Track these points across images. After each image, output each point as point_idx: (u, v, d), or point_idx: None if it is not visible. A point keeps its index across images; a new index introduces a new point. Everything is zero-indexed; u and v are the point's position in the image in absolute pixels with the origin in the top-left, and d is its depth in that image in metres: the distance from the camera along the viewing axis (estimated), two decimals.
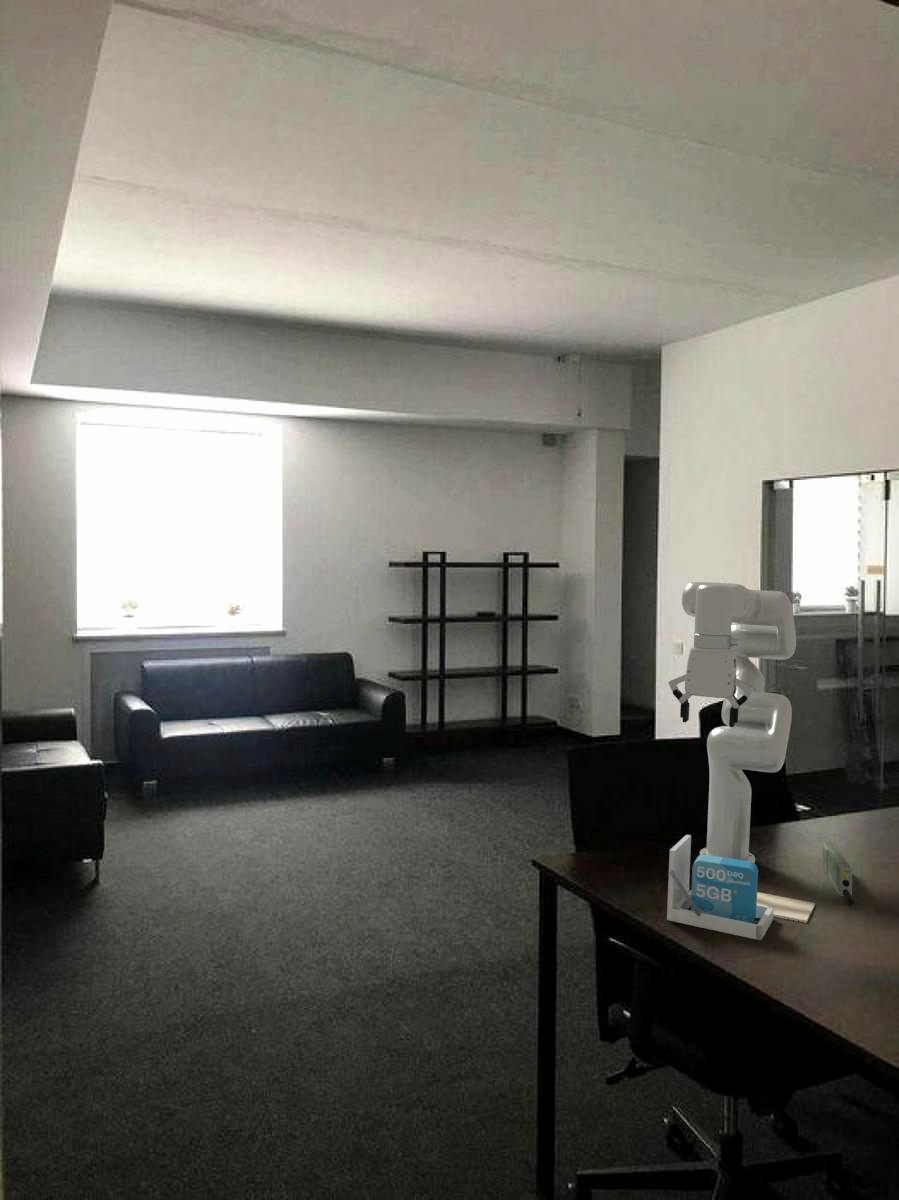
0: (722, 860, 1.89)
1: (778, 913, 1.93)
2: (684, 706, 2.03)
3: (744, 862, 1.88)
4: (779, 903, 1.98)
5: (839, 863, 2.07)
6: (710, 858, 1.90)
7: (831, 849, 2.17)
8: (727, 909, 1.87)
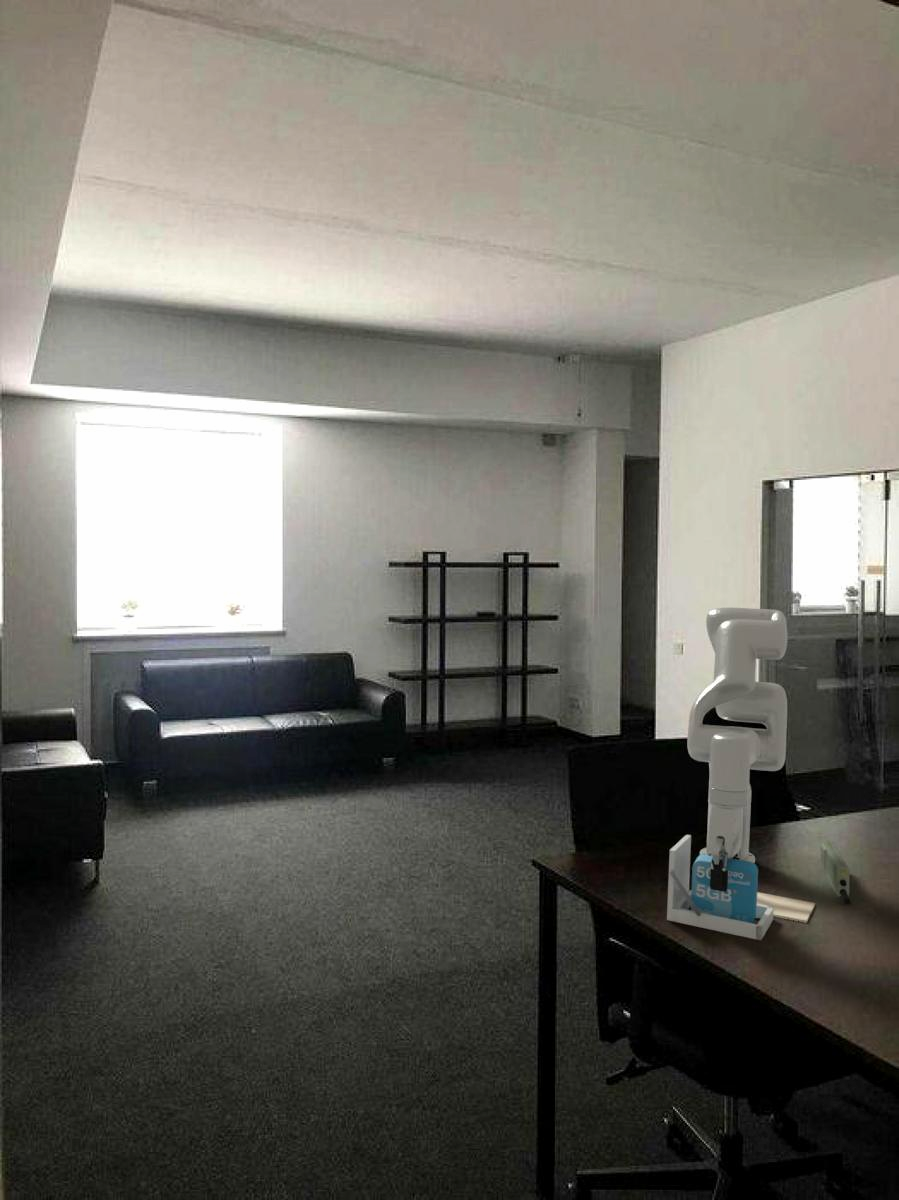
0: (722, 860, 1.89)
1: (778, 913, 1.93)
2: (727, 874, 1.84)
3: (744, 862, 1.88)
4: (779, 903, 1.98)
5: (836, 863, 2.07)
6: (710, 858, 1.90)
7: (829, 849, 2.17)
8: (727, 909, 1.87)
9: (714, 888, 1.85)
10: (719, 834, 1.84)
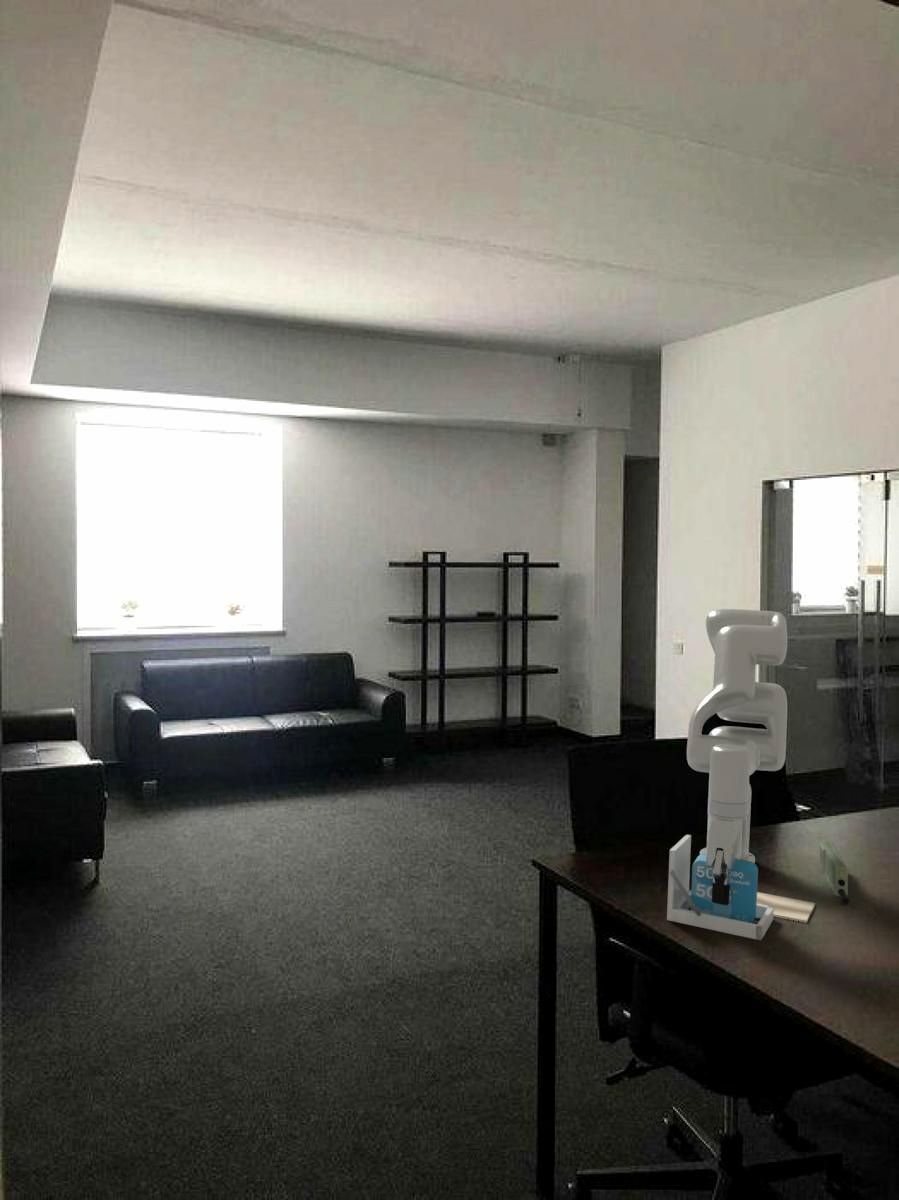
0: None
1: (778, 913, 1.93)
2: (729, 887, 1.86)
3: (744, 862, 1.88)
4: (779, 903, 1.98)
5: (835, 863, 2.07)
6: None
7: (828, 849, 2.17)
8: (727, 909, 1.87)
9: (716, 901, 1.87)
10: (718, 846, 1.84)
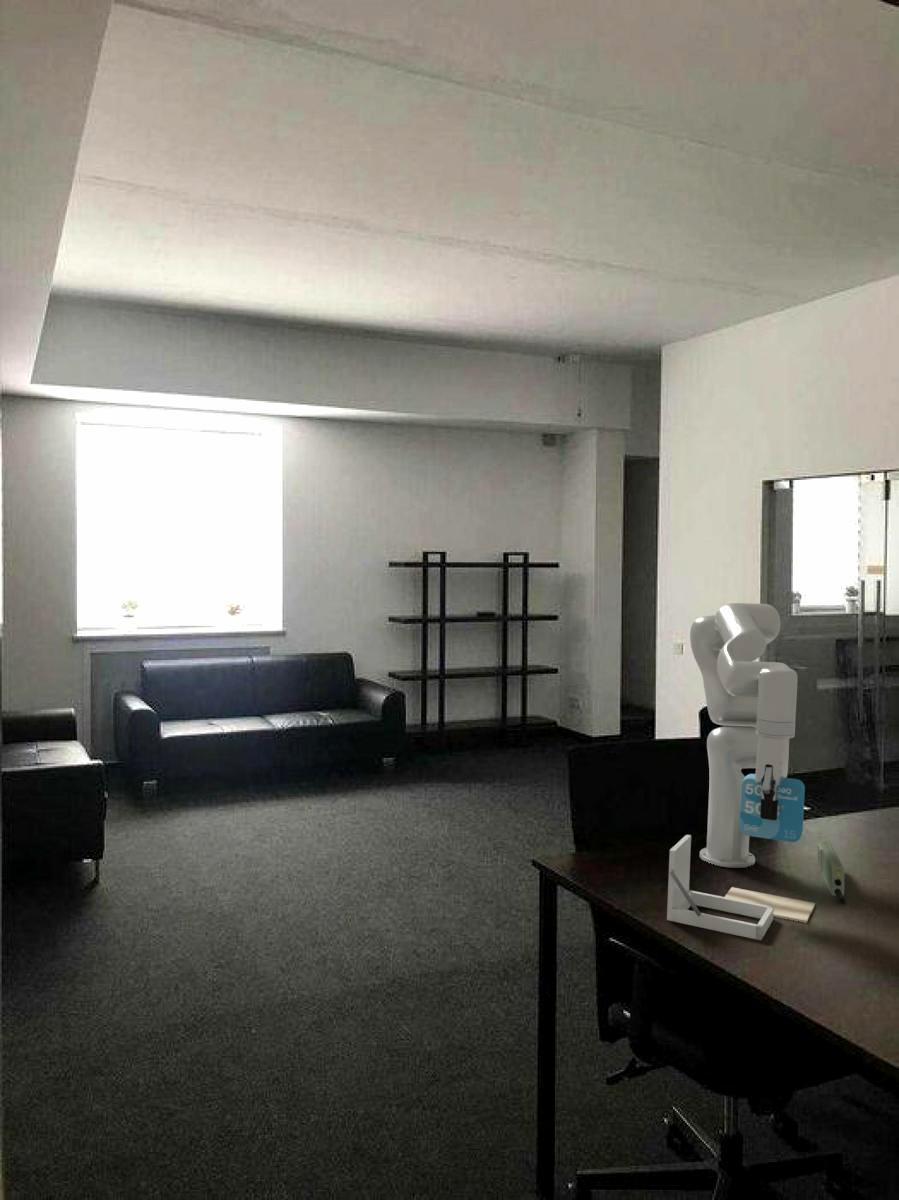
0: None
1: (778, 913, 1.93)
2: (777, 803, 1.94)
3: (791, 779, 1.96)
4: (779, 903, 1.98)
5: (831, 862, 2.07)
6: None
7: (825, 849, 2.17)
8: (775, 824, 1.95)
9: (764, 817, 1.95)
10: (767, 762, 1.92)
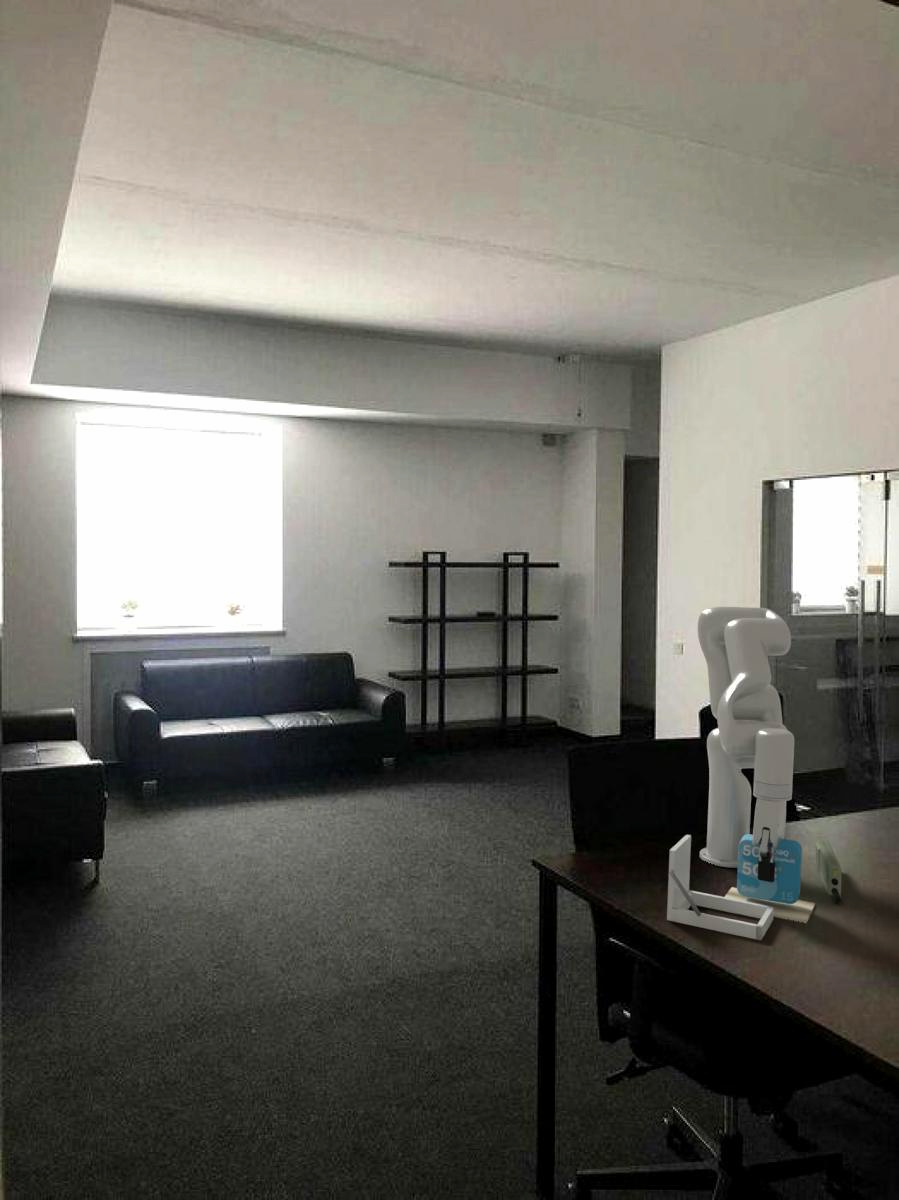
0: None
1: (778, 913, 1.93)
2: (774, 865, 1.94)
3: (788, 841, 1.97)
4: (779, 903, 1.98)
5: (829, 862, 2.08)
6: None
7: (823, 848, 2.17)
8: (773, 886, 1.95)
9: (762, 879, 1.96)
10: (765, 825, 1.93)
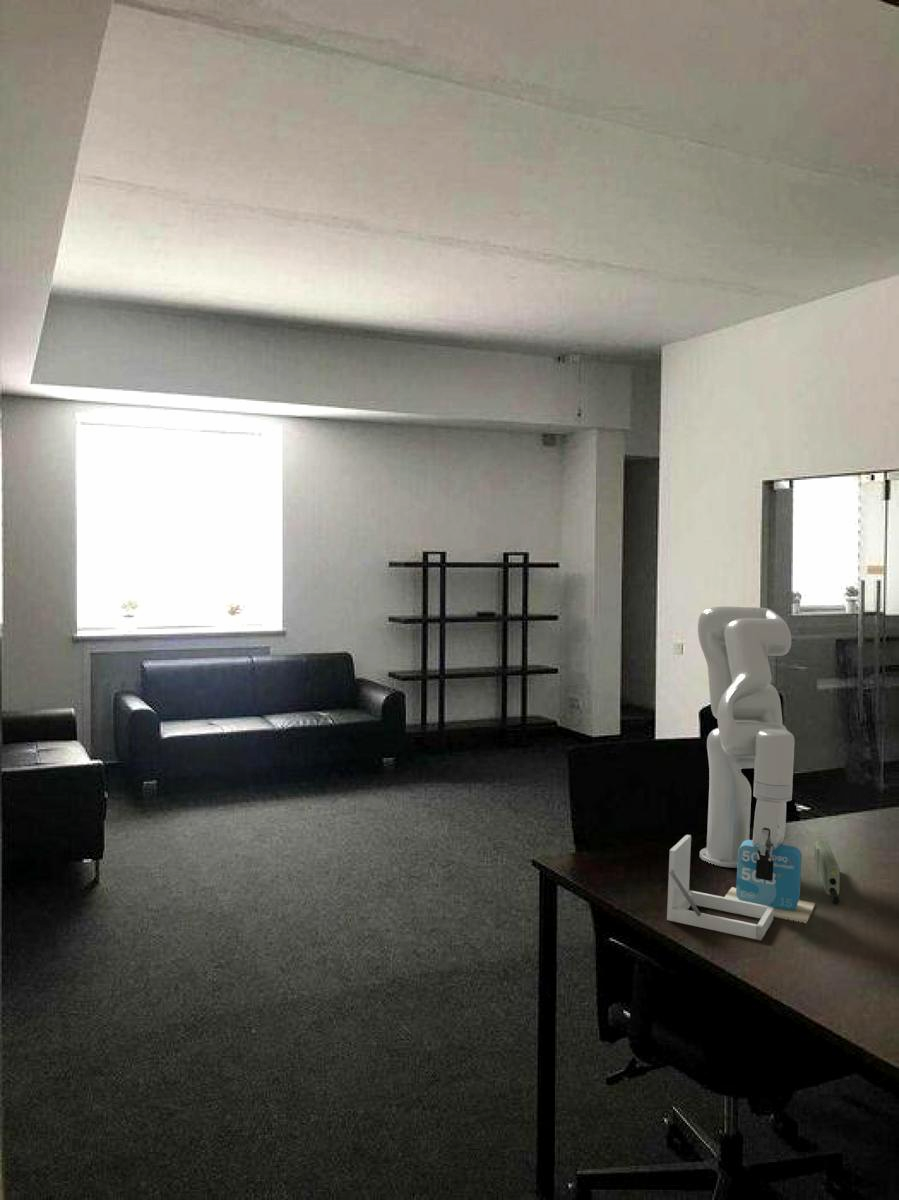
0: None
1: (778, 913, 1.93)
2: None
3: (788, 847, 1.97)
4: None
5: (827, 861, 2.08)
6: None
7: (821, 848, 2.17)
8: (772, 892, 1.96)
9: (760, 877, 1.94)
10: (765, 826, 1.93)
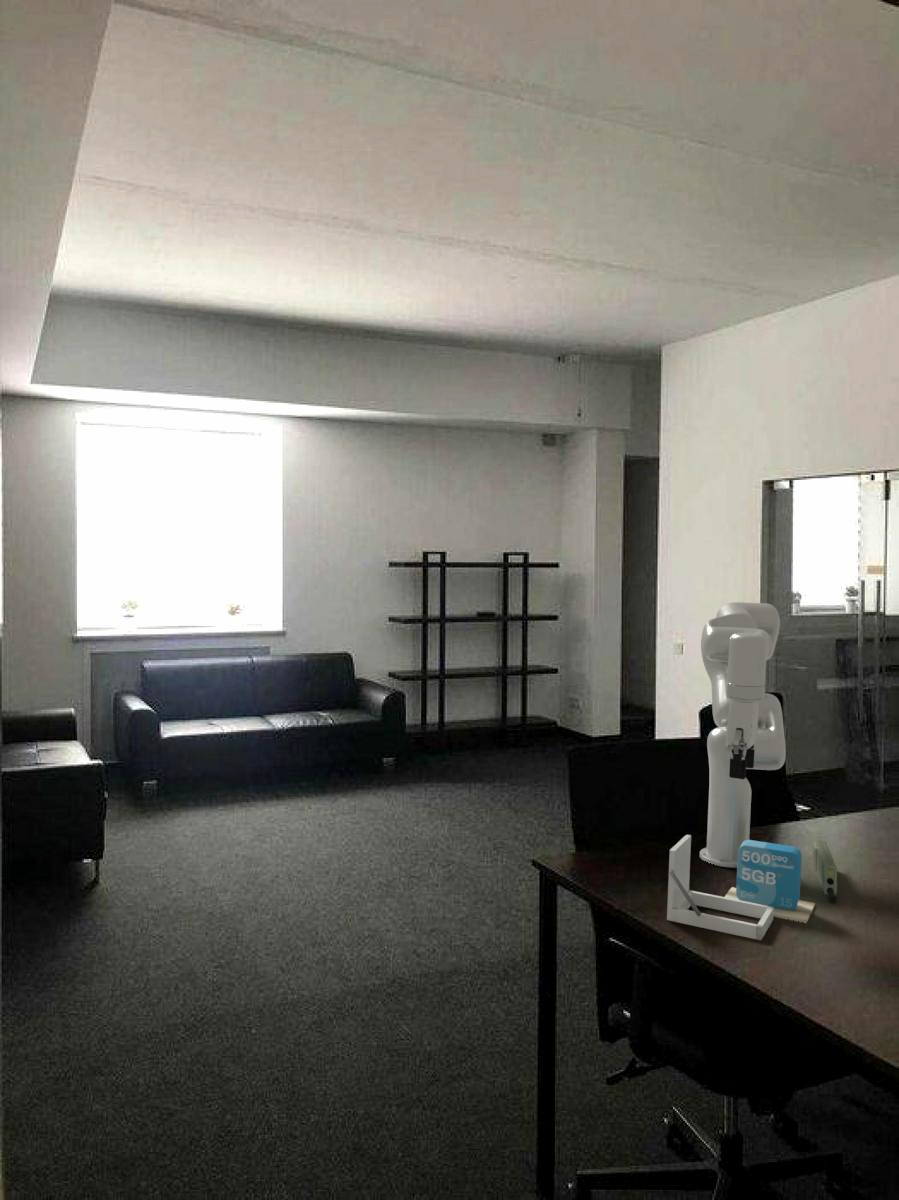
0: (767, 845, 1.98)
1: (778, 913, 1.93)
2: (746, 762, 1.97)
3: (788, 847, 1.97)
4: None
5: (824, 861, 2.08)
6: (755, 843, 1.99)
7: (820, 848, 2.17)
8: (772, 892, 1.96)
9: (733, 776, 1.98)
10: (738, 726, 1.97)
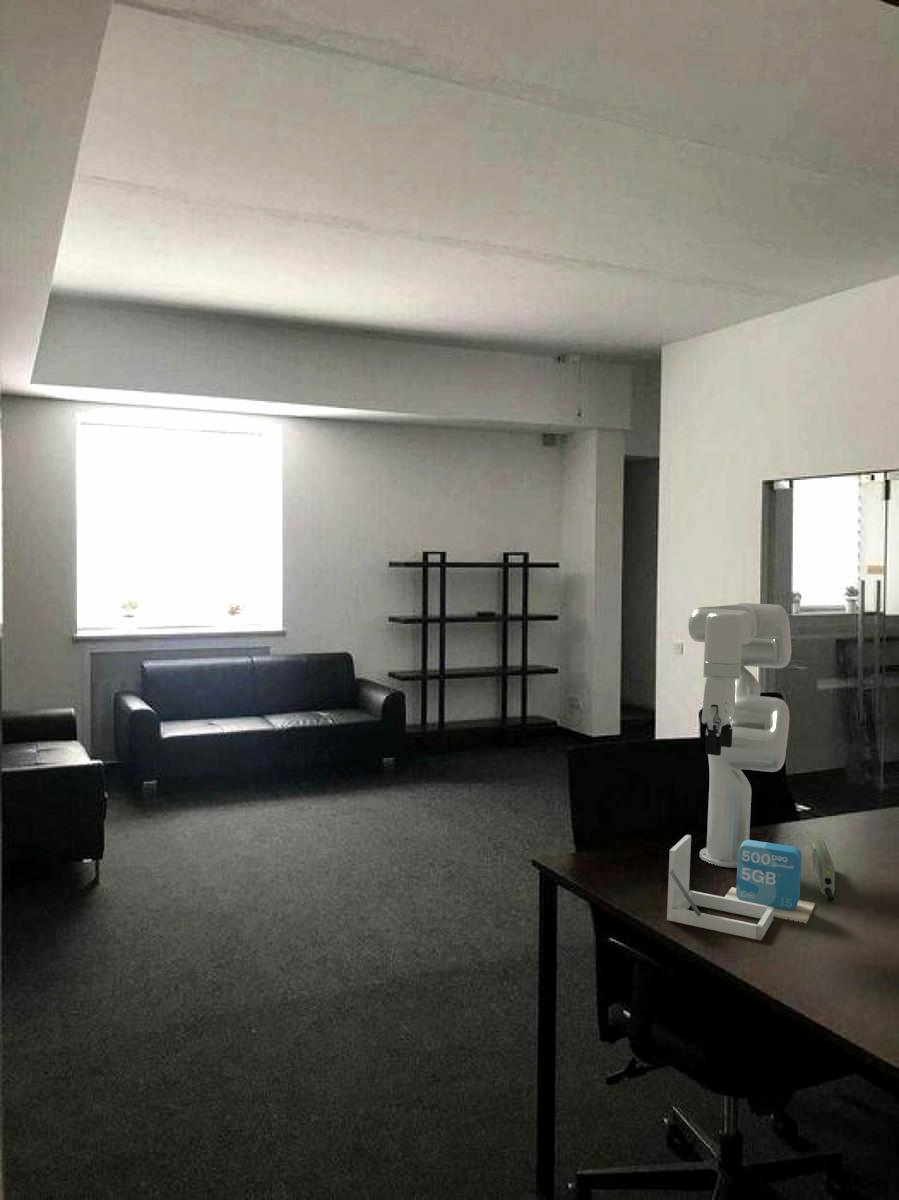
0: (767, 845, 1.98)
1: (778, 913, 1.93)
2: (721, 739, 2.00)
3: (788, 847, 1.97)
4: None
5: (822, 861, 2.08)
6: (755, 843, 1.99)
7: (818, 848, 2.17)
8: (772, 892, 1.96)
9: (709, 753, 2.01)
10: (713, 703, 2.00)
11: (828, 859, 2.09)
